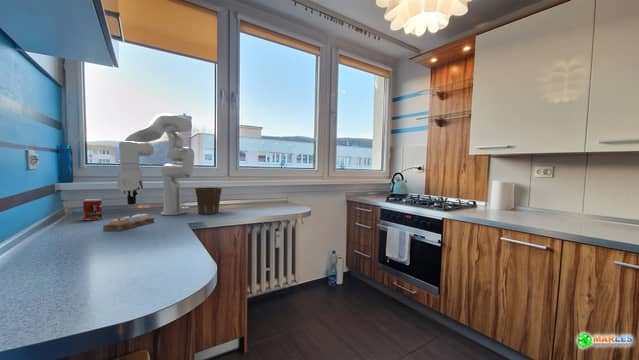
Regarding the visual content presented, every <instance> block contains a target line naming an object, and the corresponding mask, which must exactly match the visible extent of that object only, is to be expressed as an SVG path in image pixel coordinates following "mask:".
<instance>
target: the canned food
mask: <svg viewBox="0 0 639 360" xmlns="http://www.w3.org/2000/svg"><path fill="white" fill-rule="evenodd" d="M82 201H83V203H82V207H83V220H84V219H98V218H101V219H102V218H103V202H102V198H87V199H85V198H84V199H83V200H82Z"/></svg>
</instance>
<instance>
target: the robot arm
mask: <svg viewBox="0 0 639 360" xmlns="http://www.w3.org/2000/svg"><path fill="white" fill-rule="evenodd" d="M192 127H193V124H192V122H191V120H190V119H189V118H187V117H185V116H182V115H179V114H175V113H173V114H171V113H161V114H160V113H159V114H157V115H155V116H154V117H153V119H152V120H151V121H150V122H149V123H148V124H147V126H146V127H144V128H141V129H139V130H137V131H134V132H133V133H131V134H129V135H128V136H127V137H126V138H125V139H124V141H123V140H122V141H120V142H119V143H118V148H119V149H118V150H119V151H118V152H119V165H118V167H119V170H118V174H117V189H118V190H119V192H121V193H123V194H125V196H126V197H127V205H136V204H137V196H138V194H140V193H142V192H143V189H144V181H143V173H142V172H141V169H140V157H150V156H151V155H153V153H154V152H155V151H154V150H155V148H154V146H153V145H152V143H151V142H154V141H157V140H160V139H161V138H162V136H163V135H164V134H165V133H166V135H167V138H168V140H167V141H168V142H167V151H166V159H167V161H169V162H170V163H169V162H168V163H165V164H163V165H162V166H161V169H160V170H161V177H162V184H163V186H162V187H163V197H162V198H163V211H161V212H160V215H163V216H174V215H176V216H177V215H181V214H184V213H185V211H189V210H190V206H183V205H182V186H181V183H180V181H179V180H180V179H181V180H182V179H183V180H184V179H190V178H191V177H192V176H193V171H194V164H195V163H194V162H195V151H194V150H193V148H192V147H189V146H184V137H183V136H182V135H181V134H180V133H188V132H190V131H191V130H192ZM173 162H174V163H173Z"/></svg>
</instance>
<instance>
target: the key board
mask: <svg viewBox="0 0 639 360" xmlns="http://www.w3.org/2000/svg"><path fill="white" fill-rule="evenodd" d="M154 222H155V218H154V217H150V216H148V218H147V219H143V220H139V221H135V222H128V223H126V224H122V225H110V223H108V224H103V225H102V228H103V231H104V232H105V231H106V232H122V231H127V230H130V229H134V228H137V227H141V226H145V225H148V224H152V223H154Z"/></svg>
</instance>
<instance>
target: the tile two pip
mask: <svg viewBox="0 0 639 360" xmlns="http://www.w3.org/2000/svg"><path fill="white" fill-rule="evenodd" d="M121 219H128V222H135V221H139V216H133V215H129V216H124V217H122V218H121Z"/></svg>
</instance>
